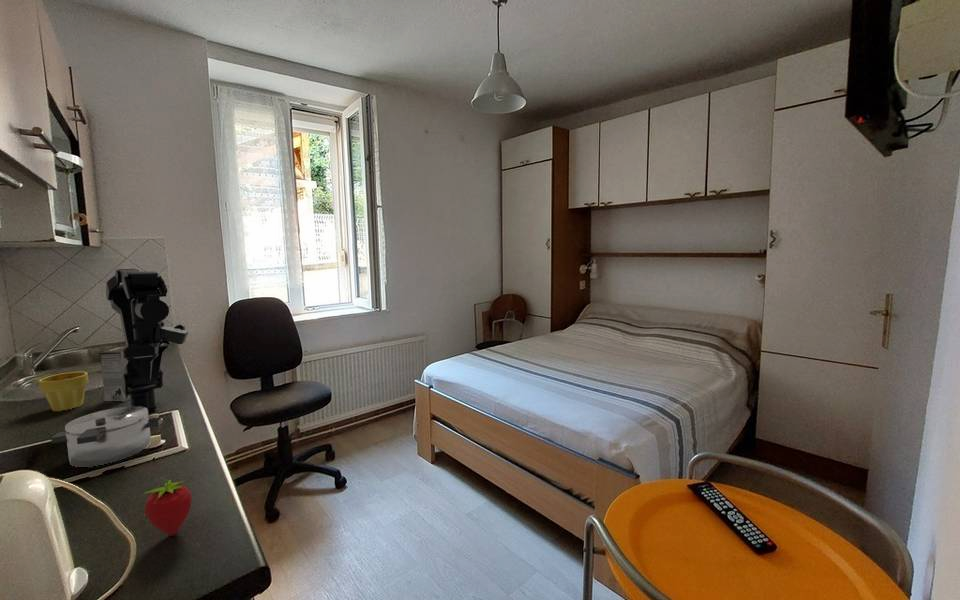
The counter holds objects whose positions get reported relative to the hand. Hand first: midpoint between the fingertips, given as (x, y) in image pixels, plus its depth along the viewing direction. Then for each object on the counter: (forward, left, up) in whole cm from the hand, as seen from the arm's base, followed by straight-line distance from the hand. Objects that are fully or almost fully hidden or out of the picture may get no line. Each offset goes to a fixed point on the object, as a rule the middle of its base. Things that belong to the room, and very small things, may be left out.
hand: (152, 376), depth 109 cm
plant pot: (-29, -28, -13) cm, 42 cm away
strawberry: (+58, +14, -13) cm, 61 cm away
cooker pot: (+16, -5, -13) cm, 21 cm away
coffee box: (-32, -15, -13) cm, 38 cm away
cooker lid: (+18, -5, -6) cm, 20 cm away
